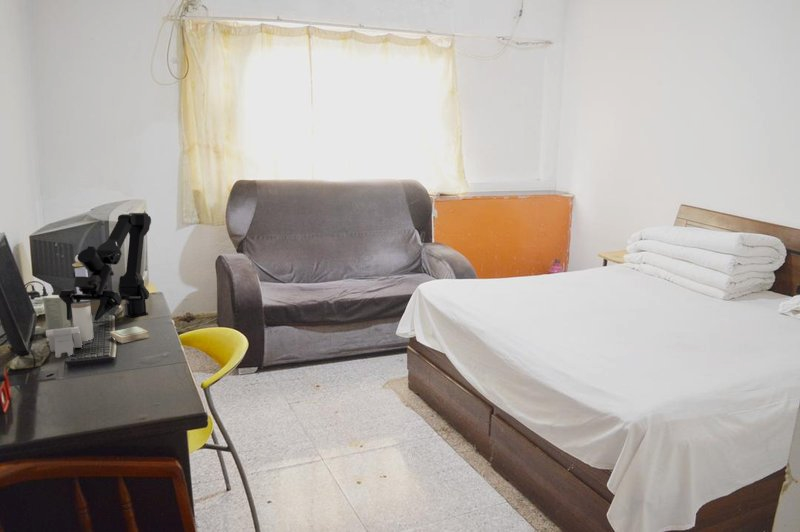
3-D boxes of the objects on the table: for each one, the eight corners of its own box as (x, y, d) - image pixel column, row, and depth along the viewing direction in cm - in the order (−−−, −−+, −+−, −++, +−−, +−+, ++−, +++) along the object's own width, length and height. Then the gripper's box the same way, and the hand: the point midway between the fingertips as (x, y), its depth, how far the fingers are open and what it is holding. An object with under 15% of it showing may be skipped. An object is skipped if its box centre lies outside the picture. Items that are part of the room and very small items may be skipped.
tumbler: (90, 338, 196) (86, 300, 194) (97, 341, 193) (93, 303, 190) (72, 342, 192) (68, 303, 190) (79, 345, 189) (74, 306, 186)
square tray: (137, 331, 203) (137, 325, 203) (149, 337, 197) (148, 330, 197) (110, 337, 197) (109, 331, 196) (121, 343, 191) (121, 336, 190)
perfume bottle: (95, 301, 246) (90, 253, 243) (83, 304, 241) (78, 255, 237) (85, 299, 249) (80, 252, 245) (73, 302, 243) (68, 255, 240)
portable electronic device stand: (82, 347, 187) (80, 322, 186) (80, 355, 180) (77, 328, 179) (51, 351, 184) (48, 325, 182) (48, 358, 177) (44, 332, 175)
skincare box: (71, 328, 208) (68, 294, 205) (63, 332, 203) (59, 297, 201) (54, 327, 208) (51, 294, 206) (46, 331, 204) (42, 297, 202)
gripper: (59, 265, 193) (40, 306, 185) (114, 266, 192) (98, 307, 183) (75, 284, 203) (58, 324, 194) (128, 284, 201) (113, 325, 192)
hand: (81, 320), depth 191 cm, fingers open, 9 cm apart
